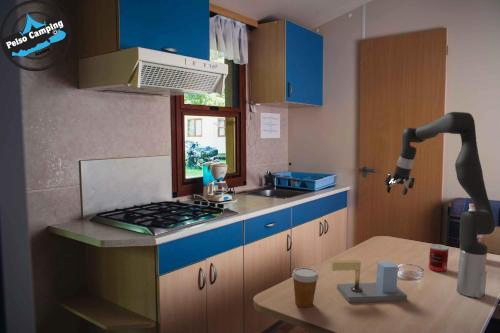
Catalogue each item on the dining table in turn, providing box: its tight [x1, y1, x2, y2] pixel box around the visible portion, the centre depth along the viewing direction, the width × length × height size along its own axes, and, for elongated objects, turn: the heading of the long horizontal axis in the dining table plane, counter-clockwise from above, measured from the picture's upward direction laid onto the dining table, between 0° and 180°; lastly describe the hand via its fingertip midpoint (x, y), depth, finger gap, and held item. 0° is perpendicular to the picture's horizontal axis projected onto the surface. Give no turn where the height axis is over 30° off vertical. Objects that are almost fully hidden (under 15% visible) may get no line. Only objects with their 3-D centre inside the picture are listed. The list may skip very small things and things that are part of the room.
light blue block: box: [375, 261, 399, 292], centre depth 152 cm, size 6×6×10 cm
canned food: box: [428, 243, 449, 273], centre depth 180 cm, size 8×8×11 cm
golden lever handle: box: [329, 259, 362, 289], centre depth 150 cm, size 11×2×11 cm, turn 97°
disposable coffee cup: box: [291, 267, 320, 308], centre depth 142 cm, size 10×10×12 cm
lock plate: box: [336, 282, 408, 303], centre depth 152 cm, size 23×12×4 cm, turn 97°
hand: (396, 193), depth 208 cm, fingers open, 8 cm apart
